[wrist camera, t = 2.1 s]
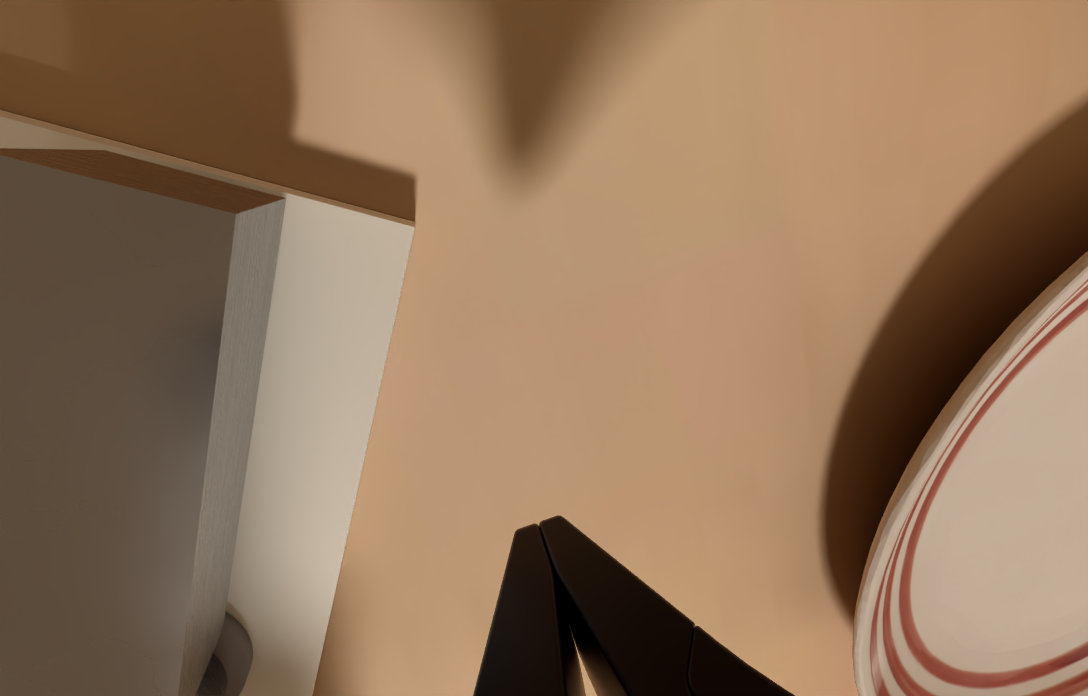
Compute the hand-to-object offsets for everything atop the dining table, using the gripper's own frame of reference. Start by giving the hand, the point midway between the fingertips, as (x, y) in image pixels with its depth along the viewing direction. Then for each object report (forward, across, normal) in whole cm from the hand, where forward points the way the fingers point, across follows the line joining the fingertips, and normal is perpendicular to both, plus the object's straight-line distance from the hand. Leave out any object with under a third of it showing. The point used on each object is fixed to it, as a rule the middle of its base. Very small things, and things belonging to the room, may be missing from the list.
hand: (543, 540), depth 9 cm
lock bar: (+4, +8, -1) cm, 9 cm away
